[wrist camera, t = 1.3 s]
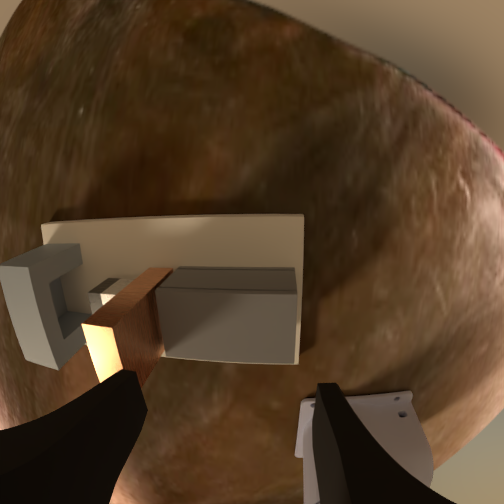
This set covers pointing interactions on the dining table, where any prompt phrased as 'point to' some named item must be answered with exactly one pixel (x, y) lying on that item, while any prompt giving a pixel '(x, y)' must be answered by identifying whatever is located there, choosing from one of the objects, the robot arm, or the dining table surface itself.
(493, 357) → the dining table surface
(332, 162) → the dining table surface
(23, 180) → the dining table surface
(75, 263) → the socket block
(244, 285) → the cream rectangular panel
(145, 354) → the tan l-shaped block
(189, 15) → the dining table surface
